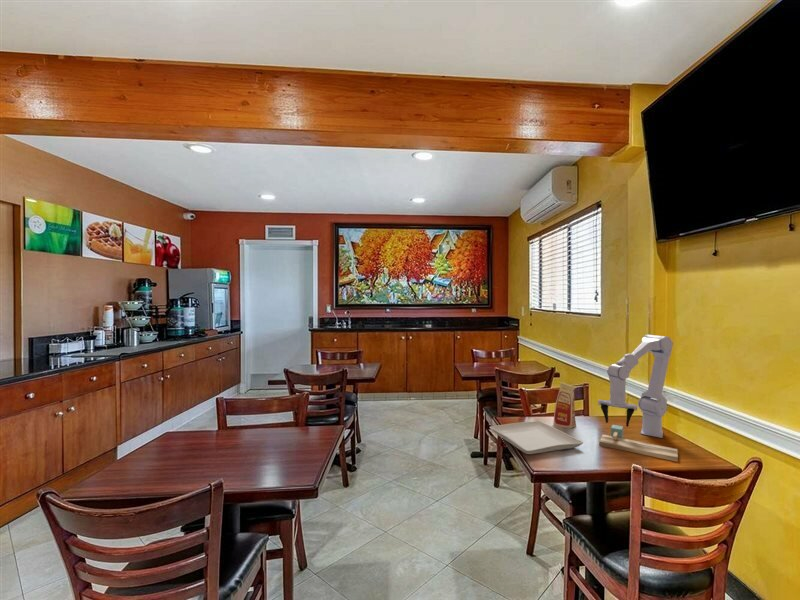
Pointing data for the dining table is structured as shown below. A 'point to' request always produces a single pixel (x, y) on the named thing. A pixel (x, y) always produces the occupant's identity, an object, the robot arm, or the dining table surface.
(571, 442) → the square plate
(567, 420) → the milk carton
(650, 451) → the board
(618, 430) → the tan post teal base
